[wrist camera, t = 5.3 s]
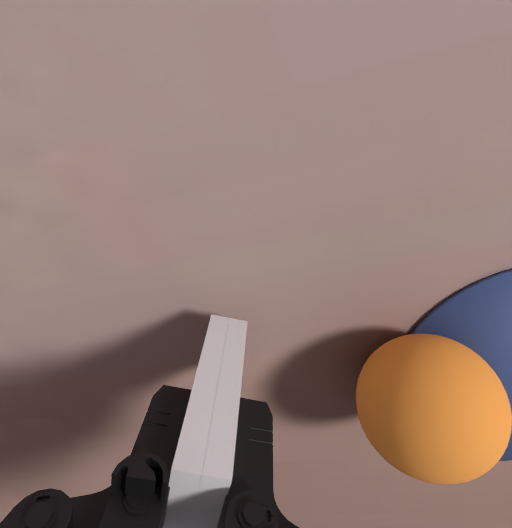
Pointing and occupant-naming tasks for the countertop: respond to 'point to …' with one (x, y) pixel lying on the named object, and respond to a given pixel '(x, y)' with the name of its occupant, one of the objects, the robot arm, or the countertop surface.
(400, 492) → the countertop surface
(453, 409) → the ball
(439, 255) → the countertop surface
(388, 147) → the countertop surface
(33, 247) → the countertop surface
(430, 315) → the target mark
